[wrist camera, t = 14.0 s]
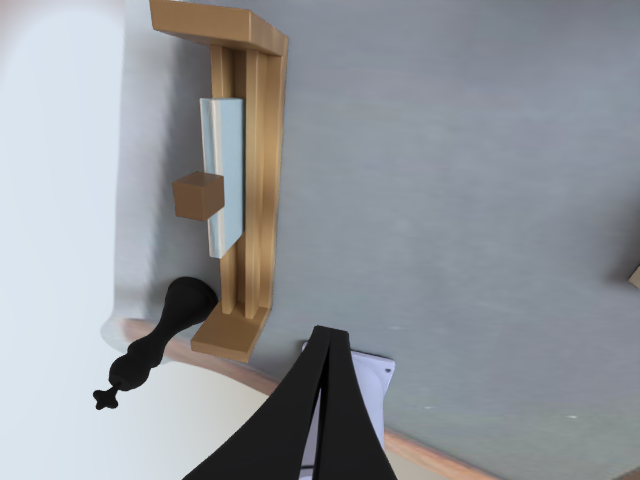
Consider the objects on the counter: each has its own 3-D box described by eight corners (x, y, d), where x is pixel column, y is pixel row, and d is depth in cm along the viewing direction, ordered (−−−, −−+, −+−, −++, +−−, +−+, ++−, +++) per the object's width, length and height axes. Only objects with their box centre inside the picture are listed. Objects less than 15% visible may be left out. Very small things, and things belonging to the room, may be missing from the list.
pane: (253, 230, 19) (209, 281, 14) (233, 226, 19) (182, 275, 14) (255, 100, 16) (197, 102, 10) (231, 96, 16) (160, 96, 10)
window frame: (272, 309, 24) (247, 363, 19) (226, 300, 24) (191, 351, 20) (288, 36, 15) (250, 9, 10) (217, 27, 16) (147, -4, 11)
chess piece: (200, 325, 26) (114, 441, 17) (161, 293, 25) (49, 400, 16) (228, 301, 24) (147, 418, 16) (187, 267, 23) (76, 371, 15)
